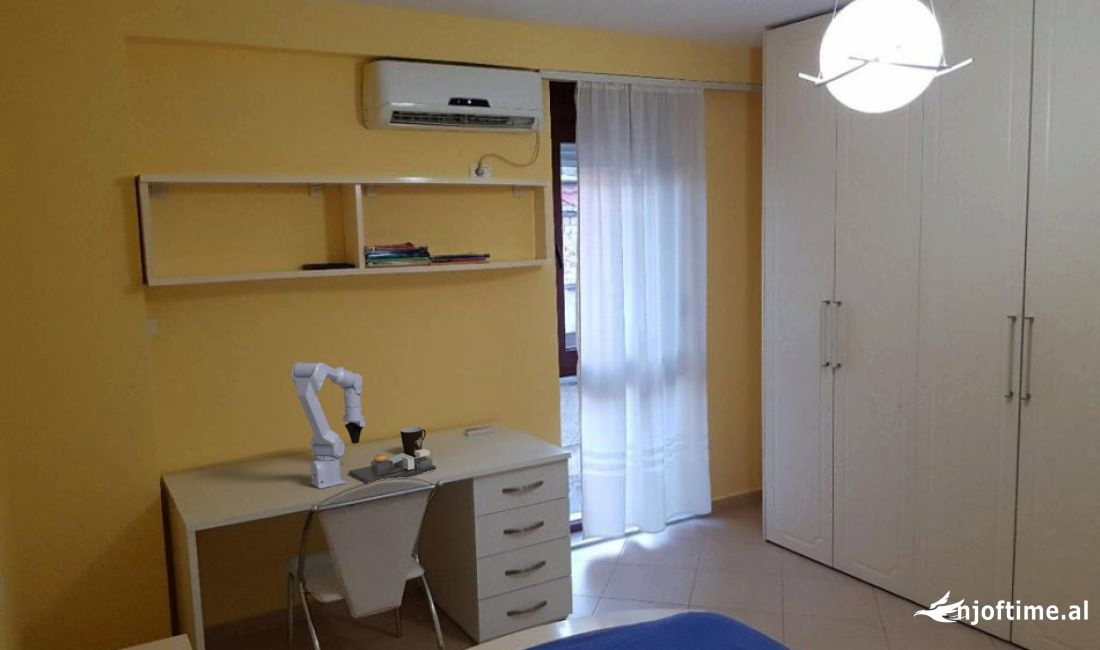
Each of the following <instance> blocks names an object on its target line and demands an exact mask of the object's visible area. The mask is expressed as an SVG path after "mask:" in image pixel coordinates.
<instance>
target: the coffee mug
mask: <svg viewBox="0 0 1100 650" xmlns="http://www.w3.org/2000/svg"><path fill="white" fill-rule="evenodd" d="M399 432H400V437H401V443H402V448H403V453H404V454H406V455H409V456H411V457H414V458H417V457H416V455H415V454H414V451H416V450H421V449H423V441H424V440H425V437H426V435H427V432H426V430H425V428H423V427H420V426H409V427H404V428H403V427H402V428H401V429H399ZM423 433H424V434H423Z"/></svg>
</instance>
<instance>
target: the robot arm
mask: <svg viewBox="0 0 1100 650" xmlns="http://www.w3.org/2000/svg"><path fill="white" fill-rule="evenodd" d="M290 376H291V380H292V382H293V384H294V387H295V388H296V393H297V396H298V397H297V398H298V399H299V402H300V404H301V406H302V408H303V411H304V414H305V416H306V418H307V421H308V423H309V426H310V428H311V430H312V433H313V434H314V435H313V436H312V438H311V439H310V445H311V452H312V454H313V456H315V459H316V460H313V461H311V463H310V474H311V483H310V484H311V485H313V486H314V487H316V488H317V489H326V488H329V487H334V486H339V485H343V484H346V483H347V481H346V480H344V479H342V471H341V469H342V468H341V458H342V456H343V454H344V452H345V450H346V447H345V442H344V441H343V439H341V438H340V435H339V434H338V433H336V432H334V431H332V430H331V428H330V425H329V423H328V422H329V421H328V420H327V418H326V415H325V413H324V410H323V408H322V405H321V402H320V401H319V397H318V396H317V392H320V390H321V389H322V386H323V383H324V382H325V380H326V378H328V379H329V380H330V381H331V383H333V384H335V385H337V386H339V387H340V388H341V389H343V403H344V414H345V415H342V421H343V422H347V423H346V424H344V427H345V428H346V430H347V432H348V435H349V438H350V441H351V444H353V445H354V444H359V443H360V437H361V433H362V431H363V428H364V427H366V420H364V419H365V418H366V417H365V415H363V414H362V402H361V401H362V400H361V399H362V398H361V393H362V390H363V389H362V388H363V384H364V380H363V377H362V375H361V374H360V373H357V372H352V371H351V370H349V369H345V368H344V367H343V366H337V367H335V368H333V367H331V366H329V365H327V364H326V363H325V362H324V363H323V362H301V361H300V362H299V361H298V362H297V361H296V363H294V365H293V367H292V370H291V374H290Z"/></svg>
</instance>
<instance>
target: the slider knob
mask: <svg viewBox="0 0 1100 650" xmlns="http://www.w3.org/2000/svg"><path fill="white" fill-rule="evenodd" d="M414 458H415V457H411V456H409V455H407V456H403V457H402V461H403V468H405V469H407V470H410V469H414Z"/></svg>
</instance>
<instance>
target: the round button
mask: <svg viewBox="0 0 1100 650" xmlns="http://www.w3.org/2000/svg"><path fill="white" fill-rule="evenodd" d="M373 460H374V461H375V462H383V461H386V460H388V459H387V455H386V454H376V455H374V456H373Z"/></svg>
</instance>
